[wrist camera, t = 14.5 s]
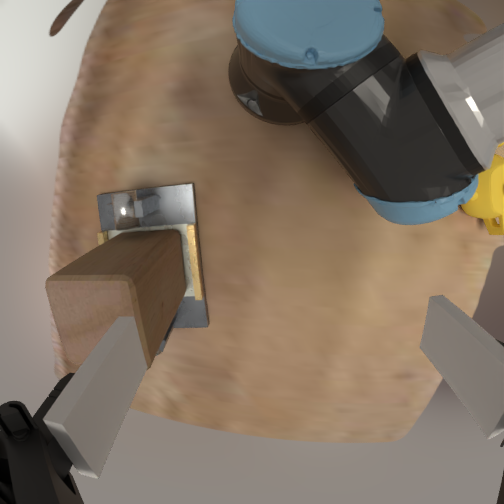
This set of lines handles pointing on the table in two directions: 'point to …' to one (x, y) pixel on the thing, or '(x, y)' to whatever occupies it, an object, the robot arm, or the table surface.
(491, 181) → the yellow rounded piece
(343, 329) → the table surface
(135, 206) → the grey metal fixture stand
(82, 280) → the wooden block
